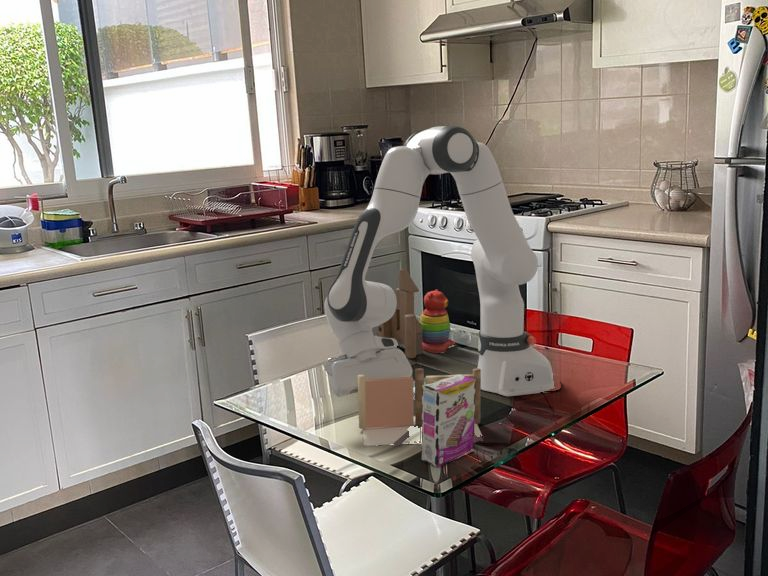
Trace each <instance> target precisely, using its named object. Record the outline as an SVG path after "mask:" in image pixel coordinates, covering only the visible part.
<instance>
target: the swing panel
mask: <svg viewBox="0 0 768 576" xmlns="http://www.w3.org/2000/svg"><path fill="white" fill-rule="evenodd" d="M357 398H358V403H357V404H358V405H357V407H358V428H359V429H360V430H363V429H366V428H375V427H388V426H401V425H413V424H414V416H415V401H414V377H413V376H411V377H399V378H384V379H370V380H366V375H363V374H361V375H358V393H357Z"/></svg>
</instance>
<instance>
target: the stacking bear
mask: <svg viewBox="0 0 768 576" xmlns="http://www.w3.org/2000/svg"><path fill="white" fill-rule="evenodd" d="M423 303H424V304H423V305H424V308H425V309H424V310H423V311H422V313H421V314H420V315H421V316H420V319H419V322H420V323H421V324H422V351H425V352H427V353H432V354H439V353H440V354H442V353H441V352H445V353H447V352H446V351H448V349H447V348H448V347H449V346H452V345H454V344H455V343H456V341H455V340H452V339H450V338H449V337H450V333H451V332H450V331H451V323H450V319H449V315H448V311H447V310H446V308H447V307H448V304H449V300H448V298H447V297H446V296H445V294H444V293H443V292H442V291H439V289H435V290H431V291H428V292H427V293H426V294H425V295H424V297H423ZM456 344H457V343H456ZM446 349H447V350H446Z"/></svg>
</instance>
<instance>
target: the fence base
mask: <svg viewBox="0 0 768 576" xmlns="http://www.w3.org/2000/svg"><path fill="white" fill-rule="evenodd" d="M424 373H425V370H424V368H419V367H418V368H415V369H414V416H415V425H417V426H422V385H425V384H429V383H432V382H435V381H439V380H442V379H445V378H448V377H452V376H455V375H456V374H445V375H444V374H443V375H424ZM463 375H464V376H467V377H470V378H473V379H475V380H476V383H475V424H477V425H479V424H481V393H482V392H481V391H482V389H481V369H478V367H477V368H472V373H471V374H463ZM424 379H425V380H424ZM424 382H425V383H424Z"/></svg>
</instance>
